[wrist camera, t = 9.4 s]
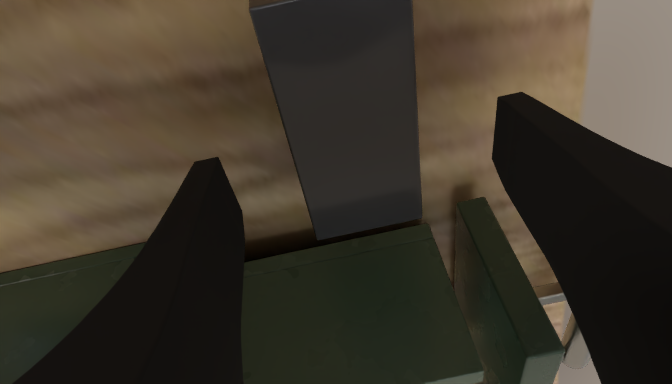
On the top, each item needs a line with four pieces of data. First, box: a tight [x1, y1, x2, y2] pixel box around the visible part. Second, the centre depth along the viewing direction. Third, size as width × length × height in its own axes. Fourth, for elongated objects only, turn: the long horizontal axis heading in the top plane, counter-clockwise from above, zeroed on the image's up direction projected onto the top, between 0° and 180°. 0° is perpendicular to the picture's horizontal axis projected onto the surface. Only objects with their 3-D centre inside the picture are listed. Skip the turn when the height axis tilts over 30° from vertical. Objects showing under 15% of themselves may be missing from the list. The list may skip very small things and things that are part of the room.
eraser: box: [249, 0, 423, 240], centre depth 14 cm, size 8×4×3 cm, turn 9°
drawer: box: [241, 197, 591, 384], centre depth 21 cm, size 18×13×7 cm
